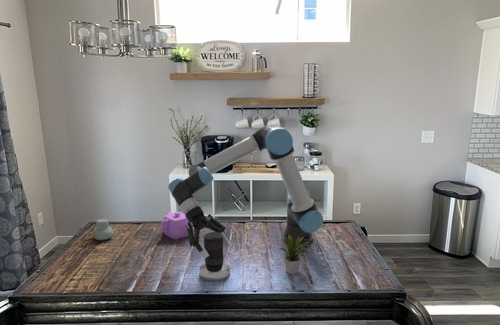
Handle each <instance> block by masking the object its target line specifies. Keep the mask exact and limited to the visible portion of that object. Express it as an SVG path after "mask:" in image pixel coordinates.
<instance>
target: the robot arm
mask: <svg viewBox="0 0 500 325" xmlns="http://www.w3.org/2000/svg"><path fill="white" fill-rule="evenodd" d="M293 143H294V139H293V135H292V134H291V133H290V131H288V129H286V128H284V127H282V126H278V125H275V124H266V125H264V126H262V127H261V128H259V129H257V130H256V131H254V132H252V133H250V134H249V136H248V137H246V138H245V139H242V140H240V141H239V142H237V143H235V144H233V145H232V146H229V147H227V148H225V149H224V150H222V151H220V152H218V153H216V154H214V155H212V156H210V157H209V158H206V159H205V160H203V161H201V162H199V163H193V164H192V165H190V167H189V169H188V177H187V178H184V179H183V178H182V177H178V178H176V179H173V180H172V181H171V182H170V183H169V184H168V190H169V192H170V193H171V196H172V198H173V199H174V200H175V202H176V203H177V205H178V207H179V208H180V210H181V212H182V213H184V214H186V215H185V216H186V218H187V220H188V221H189V222H188V223H187V224H186V225H185V226H186V228H187V231H188V237H187V238H188V244H189V246H190V247H194V248H196V249H197V251H198V253H200V254H201V256H202V257H203V259H204V260H205V259H206V258H207V257H208V256H209V254H208V253H207V251H206V249H205V248H204V244H203V243H202V242H200V233H201V232H200V231H201V230H202V229H203V230H204V229H205V228H206V229H208V230H211V231H212V232H219V233H221V234H222V235H223V246H224V247H225V248H227V249H228V248H229V247H230V246H231V245H232V243H231V242H230V241H229V239H228V236H227V235H226V233H225V231H226V227H225V226H224V225H223V224H222V223H221V222H219V221H218V220H216V218H214V217H213V216H212V214H210V213H209V214H207V215H205V214H204V210H203V209H202V207H201V206H199V205H200V204H199V203H198V201H197V199H195V196H194V194H196V193H197V192H198V191H200V190H202V189H203V188H204V187H206V186H208V185H209V184H210V183H211V182H213V181H214V176H213V174H215V173H217V172H218V171H221V170H223V169H224V168H226V167H228V166H230V165H232V164H234V163H236V162H238V161H240V160H242V159H243V158H245V157H247V156H250V155H251V154H253V153H255V152H259V153H260V152H261V151H264V150H266V151H267V153H268V156H269V159H270V160H271V161H274V162H275V163H276V166H277V168H278V172H279V173H280V176H281V179H282V182H283V184H284V186H285V188H286V191H287V194H288V196H289V197H288V198H287V201H286V206H287V207H286V208H287V209H286V225H285V228H284V231H283V235H282V239H283V240H284V241H285V242H286V241H287V242H286V243H289V240H288V236H289V235H290V237H291V236H292V239H293V245H294V243H295V242H296V240H297V239H298V237H299V236H300V237H299V239H301V238H302V237H303V239H302V240H301V242H300V244H299V245H301V244H303V243H305V244H307V243H306V242H310V243H311V242H312V240H313V234H312V233H315V232H318V231H319V230H320V229H321V227H322V225H323V224H324V216H323V214H322V213H321V212H320V211H319V210H318V207H317V205H316V201H315V200H314V199H313V198H311V197H310V195H309V193H308V190H307V187H306V185H305V183H304V181H303V178H302V177H303V176H302V175H301V172H300V170H299V167H298V165H297V162H296V159H295V156H294V155H293V154H294V152H295V149H294V145H293ZM190 222H191V223H190ZM192 226H193V227H192ZM298 241H299V240H298Z"/></svg>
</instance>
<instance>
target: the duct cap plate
mask: <svg viewBox="0 0 500 325" xmlns="http://www.w3.org/2000/svg"><path fill="white" fill-rule="evenodd" d="M230 275H231V266H230V265H229V264H228V263H227V262H224V261H223V266H222V269H221V270H220V271H217V272H211V271H208V270H207V268H206V265H205V262H204V263H203V264H201V265H200V266H199V277H200V279H201V280H203V281H205V282H208V283H219V282H224V281H226V280H227V279H229V277H230Z"/></svg>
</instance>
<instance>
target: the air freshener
mask: <svg viewBox="0 0 500 325" xmlns="http://www.w3.org/2000/svg"><path fill="white" fill-rule="evenodd" d="M95 223H96V228H94V229H93V230H92V235H93V237H94V239H95V240H98V241H106V240H108V239H111V238H112V237H113V236H114V235H115V234H114V230H113V228H112V227H111V226H109V219H107V218H100V219H97V220H96V221H95Z"/></svg>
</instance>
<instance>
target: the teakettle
mask: <svg viewBox="0 0 500 325" xmlns="http://www.w3.org/2000/svg"><path fill="white" fill-rule="evenodd" d="M185 215H186V214H184V213H183V211H175V212H171V211H170V212H166V214H165V215H164V217H163V220H160V227H159V228H160V231H161V232H162V233H163V234H164V235H165V236H166V237H168V238H170V239H172V240H174V241H178V240H180V239H181V240H182V239H185V238H188V231H187V228H186V226H185V225H186V224H187V223H188V222H189V221H188V220H187V218H186V216H185ZM190 223H191V222H190ZM192 227H193V226H192ZM193 228H194V227H193Z"/></svg>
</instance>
